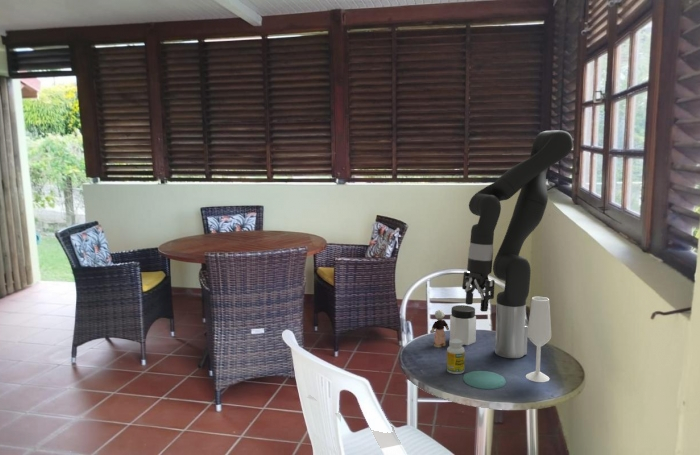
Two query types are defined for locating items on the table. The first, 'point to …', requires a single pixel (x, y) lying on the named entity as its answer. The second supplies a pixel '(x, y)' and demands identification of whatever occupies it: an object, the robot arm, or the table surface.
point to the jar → (463, 324)
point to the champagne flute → (539, 332)
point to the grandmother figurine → (439, 329)
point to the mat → (484, 380)
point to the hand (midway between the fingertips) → (476, 307)
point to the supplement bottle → (455, 357)
